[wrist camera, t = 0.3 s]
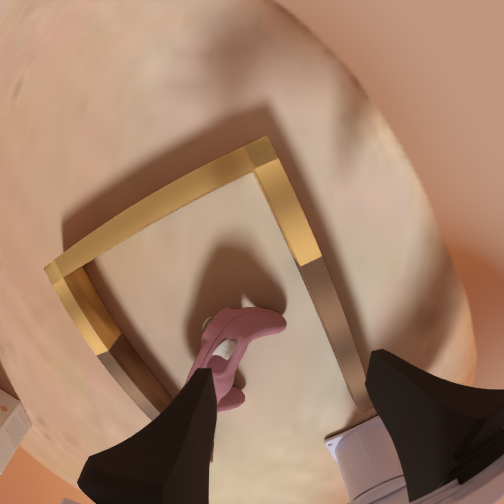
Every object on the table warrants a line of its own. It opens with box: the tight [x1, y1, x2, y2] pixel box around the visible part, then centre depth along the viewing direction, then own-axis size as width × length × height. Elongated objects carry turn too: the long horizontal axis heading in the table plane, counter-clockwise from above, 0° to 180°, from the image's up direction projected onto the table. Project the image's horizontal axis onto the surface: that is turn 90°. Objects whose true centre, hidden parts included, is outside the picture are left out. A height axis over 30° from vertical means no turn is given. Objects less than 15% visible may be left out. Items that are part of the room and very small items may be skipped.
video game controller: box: [184, 307, 287, 413], centre depth 19 cm, size 10×5×7 cm, turn 157°
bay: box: [44, 136, 374, 463], centre depth 20 cm, size 24×18×3 cm
